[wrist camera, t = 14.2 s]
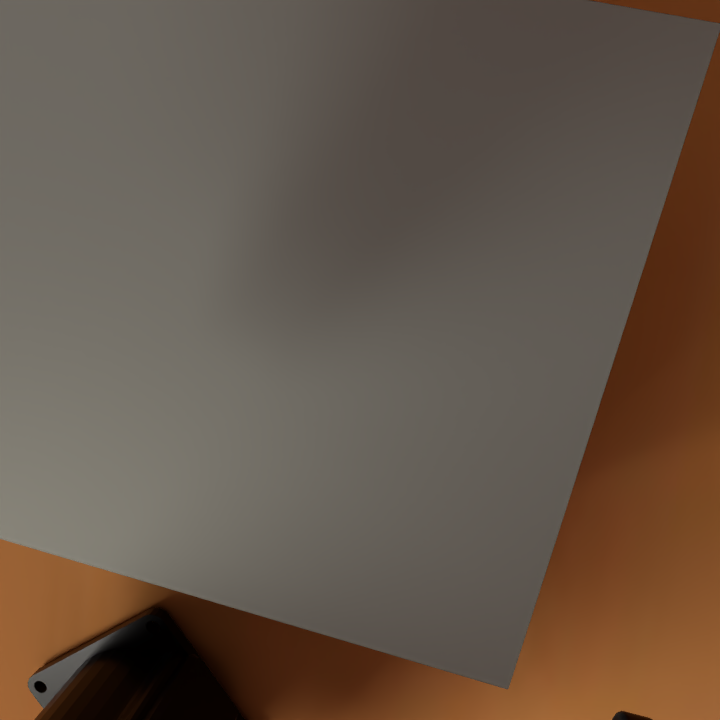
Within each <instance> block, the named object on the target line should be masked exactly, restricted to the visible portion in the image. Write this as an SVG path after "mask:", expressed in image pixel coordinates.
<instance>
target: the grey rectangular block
mask: <svg viewBox="0 0 720 720" xmlns="http://www.w3.org/2000/svg"><path fill="white" fill-rule="evenodd" d="M719 32H720V23H715V22H709V21H704V20H698V19H692V18H686V17H681V16H675V15H669V14H664V13H658V12H652V11H647V10H641V9H635V8H630V7H624V6H618V5H612V4H607V3H601V2H595V1H590V0H0V539H3V540H6V541H10V542H13V543H16V544H20V545H23V546H26V547H30V548H33V549H37V550H40V551H43V552H47V553H50V554H53V555H57V556H60V557H63V558H67V559H70V560H74V561H77V562H80V563H84V564H87V565H90V566H94V567H97V568H101V569H104V570H107V571H111V572H114V573H117V574H121V575H124V576H127V577H131V578H134V579H138V580H141V581H144V582H148V583H151V584H154V585H158V586H161V587H165V588H168V589H171V590H175V591H178V592H181V593H185V594H188V595H191V596H195V597H198V598H202V599H205V600H208V601H212V602H215V603H218V604H222V605H225V606H229V607H232V608H235V609H239V610H242V611H245V612H249V613H252V614H255V615H259V616H262V617H266V618H269V619H272V620H276V621H279V622H282V623H286V624H289V625H293V626H296V627H299V628H303V629H306V630H309V631H313V632H316V633H319V634H323V635H326V636H330V637H333V638H336V639H340V640H343V641H346V642H350V643H353V644H357V645H360V646H363V647H367V648H370V649H373V650H377V651H380V652H384V653H387V654H390V655H394V656H397V657H400V658H404V659H407V660H410V661H414V662H417V663H421V664H424V665H427V666H431V667H434V668H437V669H441V670H444V671H448V672H451V673H454V674H458V675H461V676H464V677H468V678H471V679H474V680H478V681H481V682H485V683H488V684H491V685H495V686H498V687H501V688H505V689H508V688H509V685H510V682H511V679H512V676H513V673H514V670H515V666H516V663H517V660H518V657H519V654H520V651H521V648H522V645H523V642H524V638H525V635H526V632H527V629H528V626H529V623H530V620H531V617H532V614H533V610H534V607H535V604H536V601H537V598H538V595H539V592H540V589H541V586H542V582H543V579H544V576H545V573H546V570H547V567H548V564H549V561H550V558H551V554H552V551H553V548H554V545H555V542H556V539H557V536H558V533H559V530H560V526H561V523H562V520H563V517H564V514H565V511H566V508H567V505H568V502H569V498H570V495H571V492H572V489H573V486H574V483H575V480H576V477H577V474H578V470H579V467H580V464H581V461H582V458H583V455H584V452H585V449H586V446H587V442H588V439H589V436H590V433H591V430H592V427H593V424H594V421H595V418H596V414H597V411H598V408H599V405H600V402H601V399H602V396H603V393H604V390H605V386H606V383H607V380H608V377H609V374H610V371H611V368H612V365H613V362H614V358H615V355H616V352H617V349H618V346H619V343H620V340H621V337H622V334H623V330H624V327H625V324H626V321H627V318H628V315H629V312H630V309H631V306H632V302H633V299H634V296H635V293H636V290H637V287H638V284H639V281H640V278H641V274H642V271H643V268H644V265H645V262H646V259H647V256H648V253H649V250H650V246H651V243H652V240H653V237H654V234H655V231H656V228H657V225H658V222H659V218H660V215H661V212H662V209H663V206H664V203H665V200H666V197H667V194H668V190H669V187H670V184H671V181H672V178H673V175H674V172H675V169H676V166H677V162H678V159H679V156H680V153H681V150H682V147H683V144H684V141H685V138H686V134H687V131H688V128H689V125H690V122H691V119H692V116H693V113H694V110H695V106H696V103H697V100H698V97H699V94H700V91H701V88H702V85H703V82H704V78H705V75H706V72H707V69H708V66H709V63H710V60H711V57H712V54H713V50H714V47H715V44H716V41H717V38H718V35H719Z"/></svg>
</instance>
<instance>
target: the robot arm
mask: <svg viewBox="0 0 720 720" xmlns="http://www.w3.org/2000/svg"><path fill="white" fill-rule="evenodd" d="M152 621H155V622H157V623H158V624H159V626H160V627H158V626H155V625H154V624H153V622H152ZM44 683H45V684H44ZM28 688H29V689H30V691H31V693H32V694H33V695H34V697H35V698H36V699H37V701H38V702H39V703H40V705H41V706H42V707H43V710H42V711H41V712H40V714H39V715H38V716H37V717H36V718H35V720H245V719H244V717H243V716H242V715H241V713H240V712H239V710H238V709H237V708H236V706H235V705H234V704H233V702H232V701H231V699H230V698H229V697H228V695H227V694H226V692H225V691H224V690H223V688H222V687H221V685H220V684H219V683H218V681H217V680H216V679H215V677H214V676H213V674H212V673H211V672H210V670H209V669H208V667H207V666H206V665H205V663H204V662H203V661H202V659H201V658H200V656H199V655H198V654H197V652H196V651H195V649H194V648H193V647H192V645H191V644H190V643H189V641H188V640H187V638H186V637H185V636H184V634H183V633H182V631H181V630H180V629H179V627H178V626H177V625H176V623H175V622H174V620H173V619H172V618H171V616H170V615H169V614H168V613H167V612H166V611H165V610H163V609H161V608H151V609H149V610H147V611H145V612H143V613H141V614H140V615H138V616H136V617H134V618H132V619H130V620H128V621H127V622H125V623H123V624H121V625H119V626H117V627H115V628H114V629H112V630H110V631H108V632H106V633H104V634H102V635H101V636H99V637H97V638H95V639H93V640H91V641H89V642H88V643H86V644H84V645H82V646H80V647H78V648H76V649H75V650H73V651H71V652H69V653H67V654H65V655H63V656H61V657H60V658H58V659H56V660H54V661H52V662H50V663H48V664H47V665H45V666H43V667H41V668H39V669H38V670H37V671H36V672H35V673H34V674H33V675H32V676H31V677H30V678H29V681H28ZM612 720H652V719H650V718H648V717H644V716H640V715H636V714H632V713H629V712H625V711H620V712H618V713H616V714H615V716H614V717H613V719H612Z"/></svg>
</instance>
